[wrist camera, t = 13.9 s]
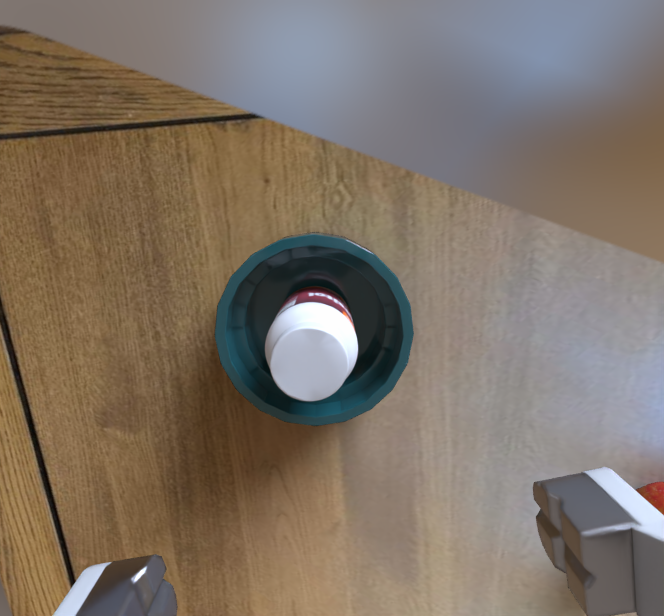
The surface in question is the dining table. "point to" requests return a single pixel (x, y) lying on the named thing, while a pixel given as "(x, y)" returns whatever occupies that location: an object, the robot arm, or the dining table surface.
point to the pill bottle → (311, 344)
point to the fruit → (654, 495)
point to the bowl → (359, 294)
